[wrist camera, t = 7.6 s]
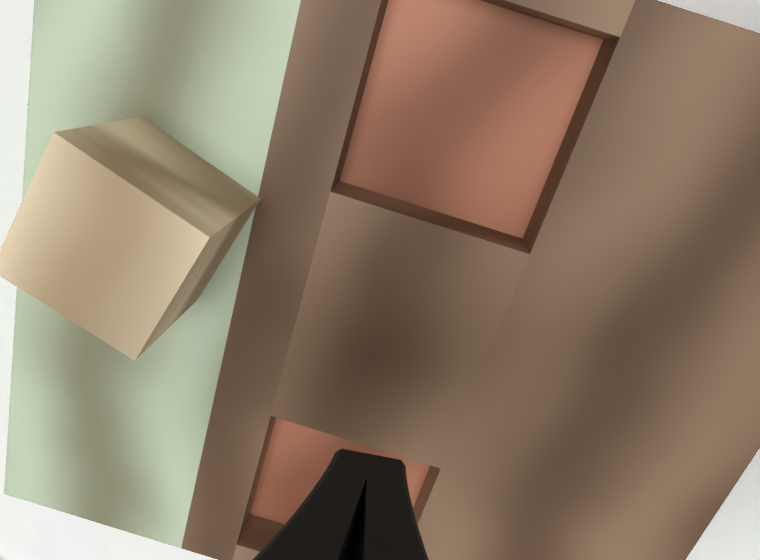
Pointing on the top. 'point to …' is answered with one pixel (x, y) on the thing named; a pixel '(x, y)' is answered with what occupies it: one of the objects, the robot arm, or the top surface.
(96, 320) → the maple block
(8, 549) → the top surface
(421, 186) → the trap deck
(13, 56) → the top surface
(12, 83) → the top surface
